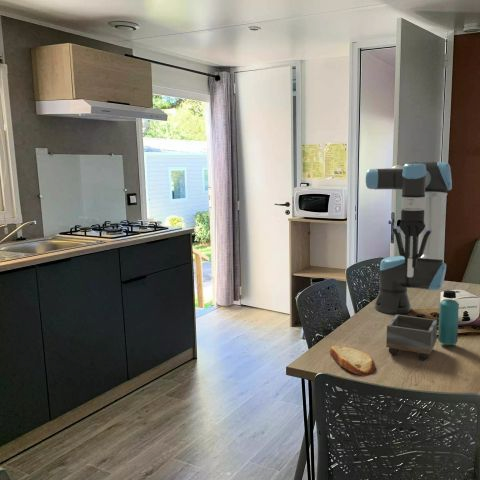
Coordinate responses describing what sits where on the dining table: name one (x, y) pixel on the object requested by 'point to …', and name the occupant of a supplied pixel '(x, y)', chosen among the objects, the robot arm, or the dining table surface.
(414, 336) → the cart
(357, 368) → the bread slice
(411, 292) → the dining table surface
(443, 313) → the beverage bottle
